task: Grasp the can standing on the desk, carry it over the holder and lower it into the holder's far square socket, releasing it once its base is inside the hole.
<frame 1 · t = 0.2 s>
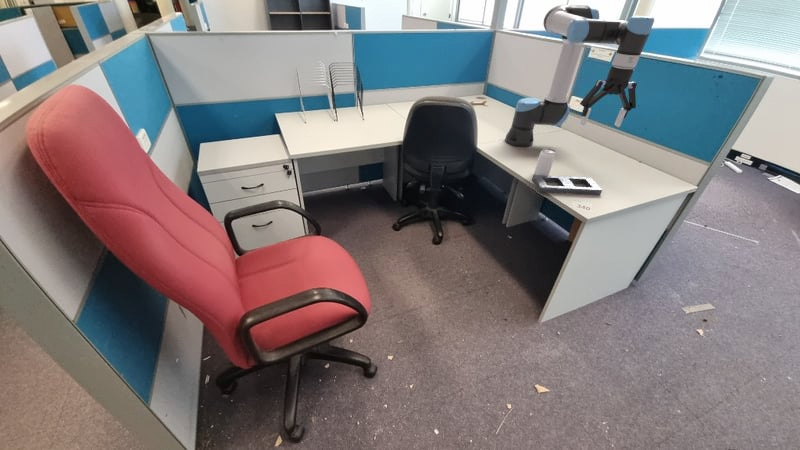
hand: (599, 125, 131), 27 cm above the table, fingers open, 13 cm apart
holder: (564, 187, 145), on the table
can: (540, 175, 154), on the table
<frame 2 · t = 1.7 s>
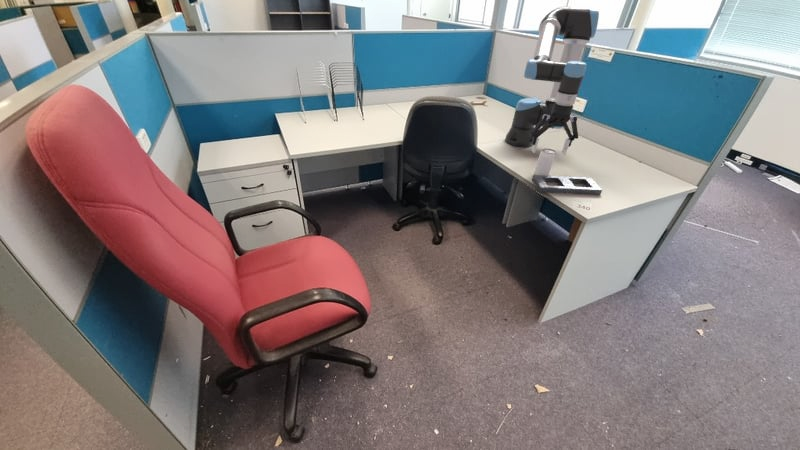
hand: (548, 152, 147), 11 cm above the table, fingers open, 13 cm apart
nothing on the table moved.
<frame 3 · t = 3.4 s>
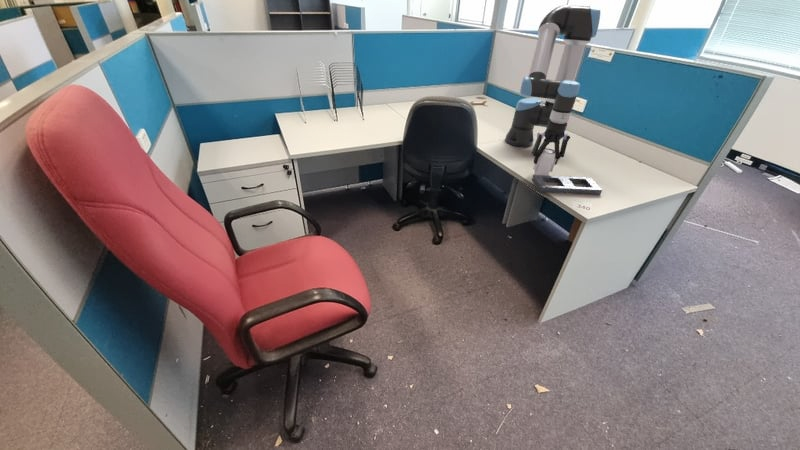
hand: (542, 170, 152), 2 cm above the table, fingers closed on can, 6 cm apart
can: (540, 175, 154), on the table, touching gripper
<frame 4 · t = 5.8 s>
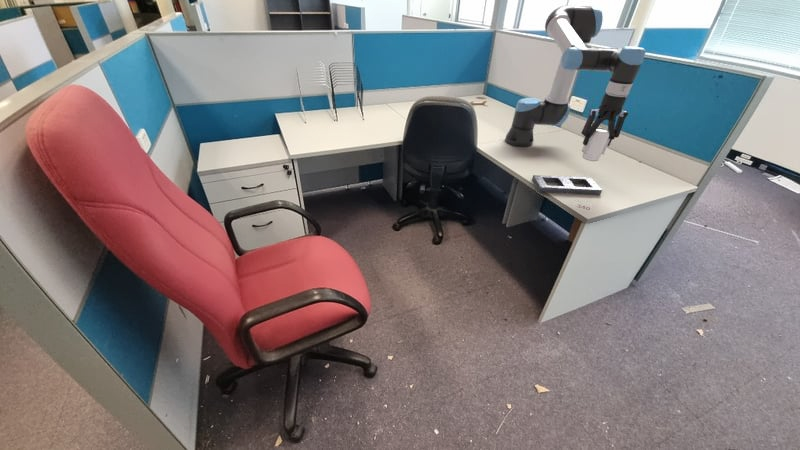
hand: (592, 152, 135), 17 cm above the table, fingers closed on can, 6 cm apart
can: (590, 158, 137), point 14 cm above the table, touching gripper
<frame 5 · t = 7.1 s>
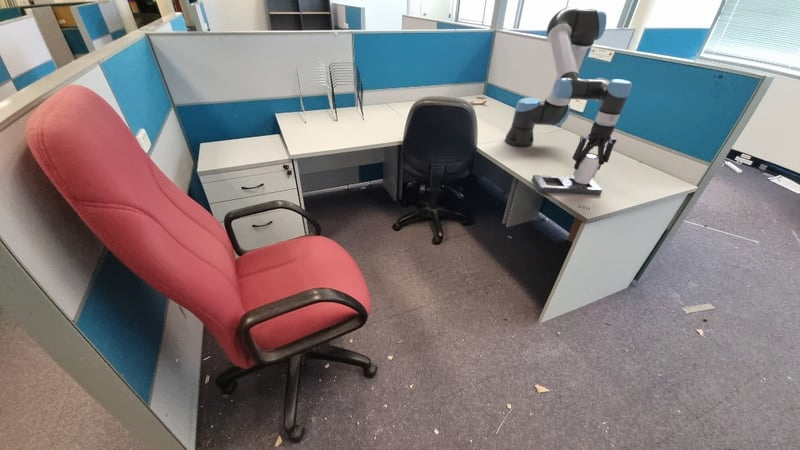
hand: (583, 176, 142), 6 cm above the table, fingers closed on can, 6 cm apart
can: (581, 181, 143), point 3 cm above the table, touching gripper
when the fingers open (4 cm above the table, at t = 8.1 s): can drops 2 cm, resting in holder.
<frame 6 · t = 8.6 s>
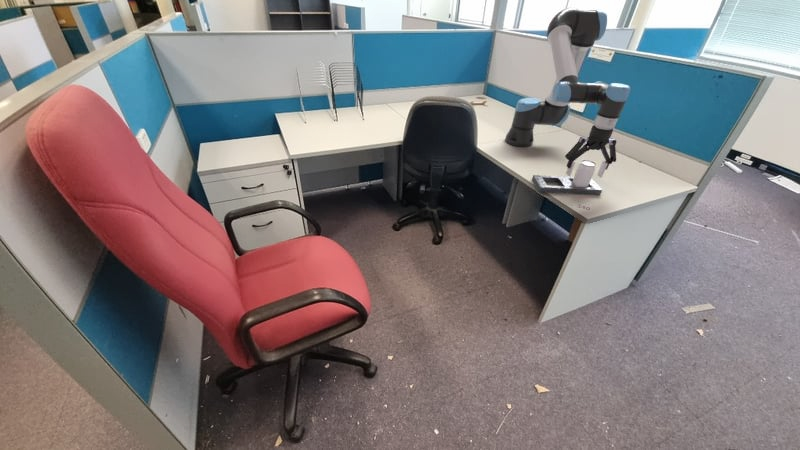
hand: (583, 175, 141), 6 cm above the table, fingers open, 13 cm apart
can: (578, 188, 145), resting in holder
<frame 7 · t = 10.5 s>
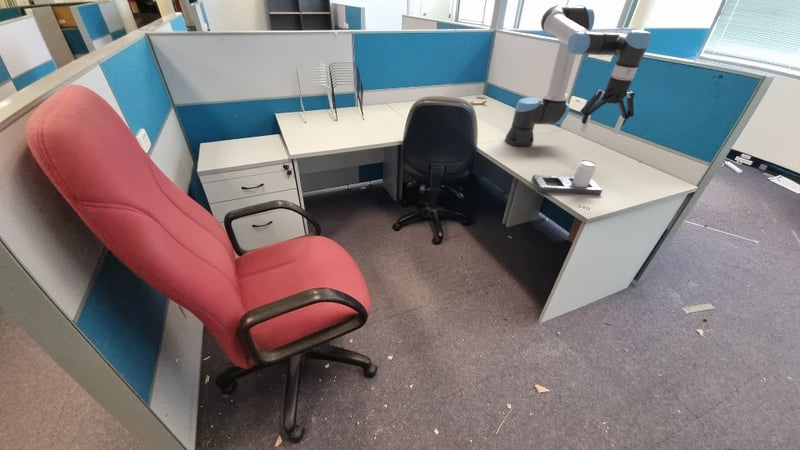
hand: (598, 131, 138), 23 cm above the table, fingers open, 13 cm apart
nothing on the table moved.
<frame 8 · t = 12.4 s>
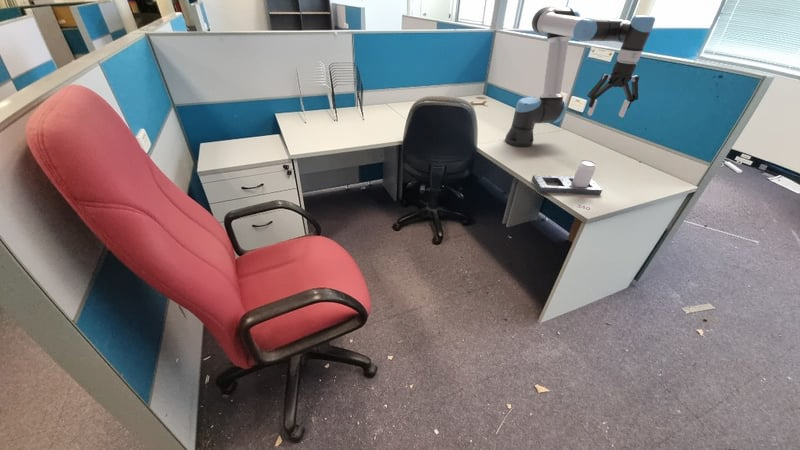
hand: (605, 115, 143), 27 cm above the table, fingers open, 13 cm apart
nothing on the table moved.
at the end: can 0.0 cm from the target spot on the holder, point 0.0 cm above the holder's base; can tilted 0°; the gripper is holding nothing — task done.
